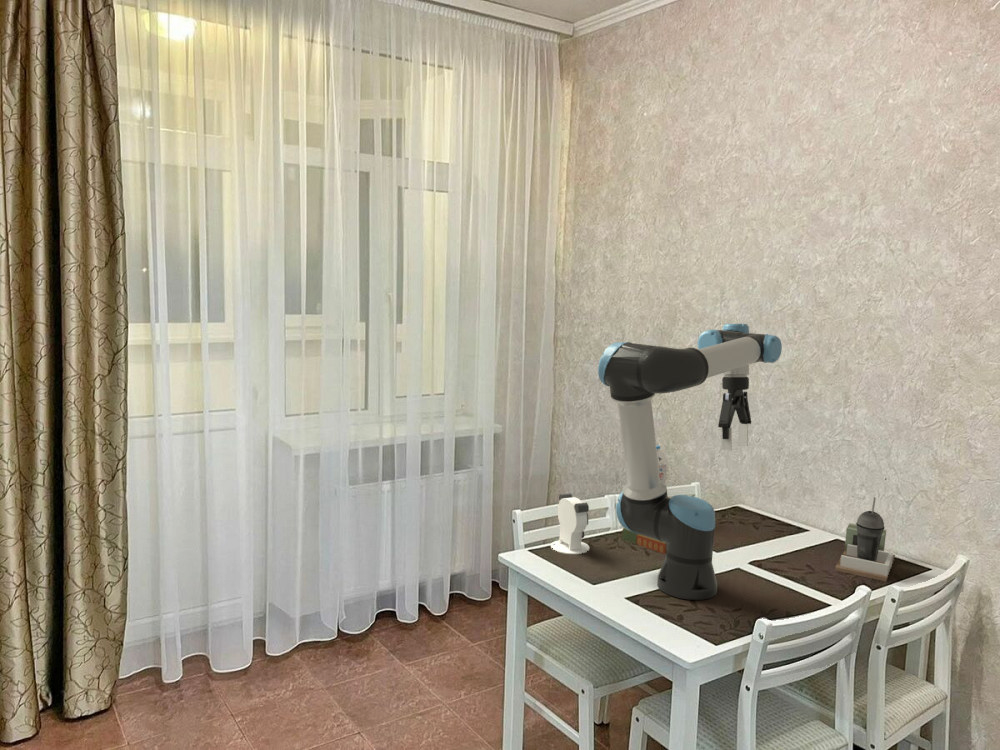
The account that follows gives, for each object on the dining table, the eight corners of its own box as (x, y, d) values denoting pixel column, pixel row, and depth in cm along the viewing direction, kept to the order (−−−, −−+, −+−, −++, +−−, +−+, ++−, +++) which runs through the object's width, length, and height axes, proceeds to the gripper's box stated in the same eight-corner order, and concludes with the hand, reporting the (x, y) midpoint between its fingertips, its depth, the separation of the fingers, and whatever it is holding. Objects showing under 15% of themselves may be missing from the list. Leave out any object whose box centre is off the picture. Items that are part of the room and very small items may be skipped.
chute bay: (887, 576, 213) (888, 565, 212) (840, 566, 219) (841, 556, 219) (892, 563, 223) (893, 553, 222) (846, 553, 229) (847, 543, 229)
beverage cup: (874, 560, 224) (881, 493, 221) (884, 570, 217) (891, 501, 214) (848, 559, 225) (855, 491, 222) (857, 568, 218) (864, 499, 215)
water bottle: (666, 519, 259) (671, 445, 255) (658, 524, 253) (663, 449, 250) (646, 515, 262) (651, 442, 259) (639, 520, 257) (643, 446, 253)
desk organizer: (886, 581, 212) (889, 553, 210) (835, 570, 218) (837, 543, 217) (894, 558, 230) (897, 532, 229) (847, 548, 236) (849, 523, 235)
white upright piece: (597, 552, 226) (600, 502, 224) (563, 557, 222) (566, 506, 220) (576, 538, 237) (579, 491, 235) (544, 543, 232) (546, 494, 230)
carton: (664, 556, 226) (665, 541, 226) (621, 540, 238) (621, 527, 237) (681, 549, 232) (682, 535, 231) (637, 534, 244) (638, 521, 243)
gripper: (738, 374, 242) (737, 442, 243) (707, 377, 222) (706, 451, 223) (762, 375, 237) (761, 444, 238) (732, 377, 217) (732, 453, 218)
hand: (735, 447), depth 230 cm, fingers open, 13 cm apart
